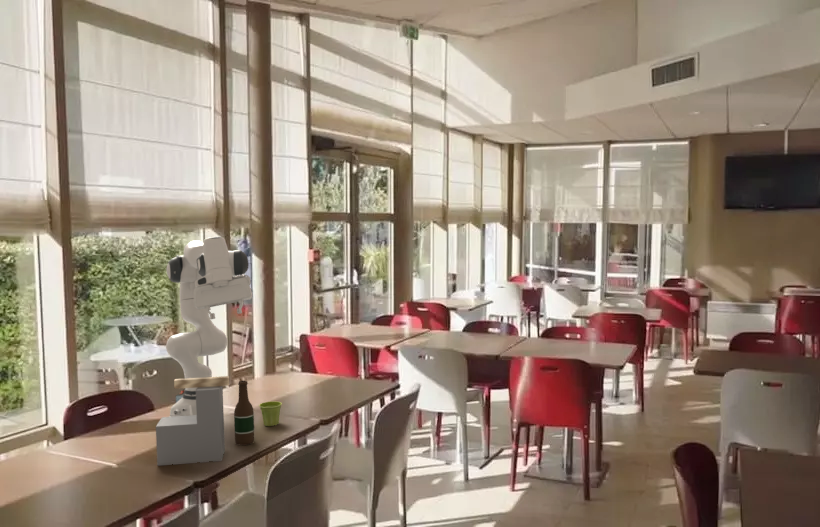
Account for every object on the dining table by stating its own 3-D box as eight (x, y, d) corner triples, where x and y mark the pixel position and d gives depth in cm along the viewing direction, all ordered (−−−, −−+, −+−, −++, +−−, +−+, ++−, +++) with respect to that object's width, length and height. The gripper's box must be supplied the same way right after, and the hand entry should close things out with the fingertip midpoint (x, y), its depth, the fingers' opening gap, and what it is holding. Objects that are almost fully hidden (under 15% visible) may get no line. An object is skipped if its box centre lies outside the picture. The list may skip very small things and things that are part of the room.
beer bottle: (249, 445, 264) (247, 383, 263) (231, 445, 266) (228, 383, 264) (258, 439, 272) (256, 379, 270) (239, 438, 273) (237, 378, 272)
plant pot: (275, 428, 286) (274, 407, 286) (255, 426, 289) (254, 406, 289) (286, 422, 295) (285, 402, 295) (267, 420, 298) (266, 400, 298)
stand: (157, 465, 244) (154, 392, 243) (163, 454, 256) (160, 385, 254) (221, 460, 248) (219, 389, 246) (224, 450, 260) (222, 381, 258)
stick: (174, 388, 248) (174, 380, 248) (175, 387, 251) (175, 379, 251) (228, 385, 251) (228, 377, 251) (229, 384, 254) (229, 376, 254)
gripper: (250, 275, 253) (256, 311, 250) (194, 286, 251) (199, 323, 247) (247, 271, 247) (254, 308, 244) (189, 282, 244) (195, 320, 241)
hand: (226, 316), depth 245 cm, fingers open, 8 cm apart
